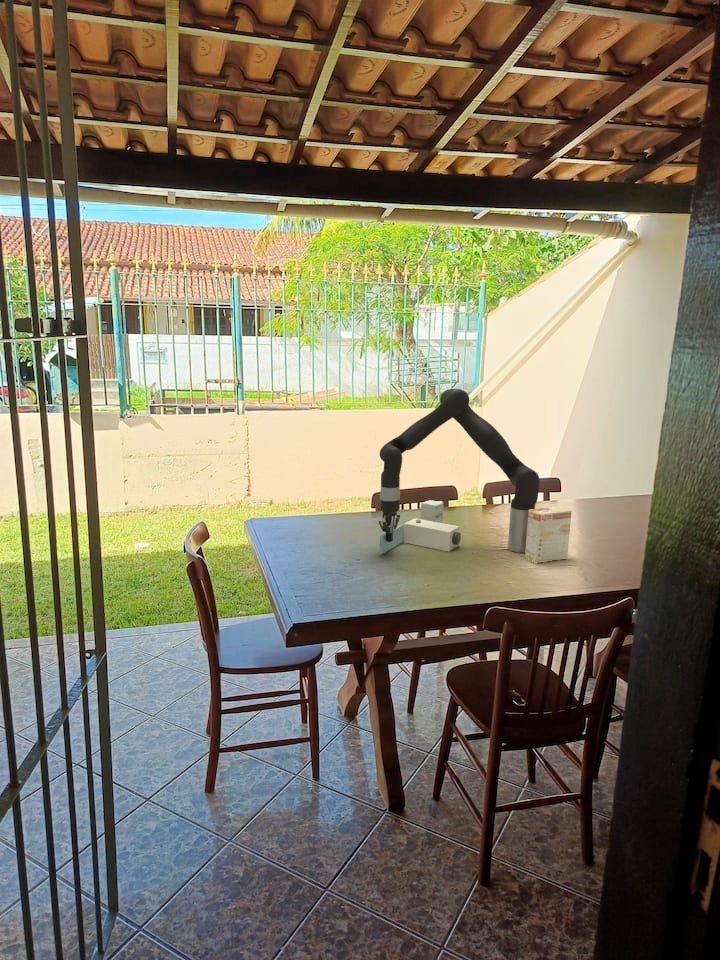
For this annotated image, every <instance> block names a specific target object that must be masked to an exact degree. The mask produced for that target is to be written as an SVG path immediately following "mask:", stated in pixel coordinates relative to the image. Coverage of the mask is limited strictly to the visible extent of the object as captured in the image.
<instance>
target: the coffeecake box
mask: <svg viewBox="0 0 720 960" xmlns="http://www.w3.org/2000/svg"><path fill="white" fill-rule="evenodd" d="M572 511H573V510H570V509H568V508H566V507H564V506H561V505H559V506H553V507H552V506H551V507H542V508H535V509H530V510H529V512H528V524H527V538H526V550H525V553H524V558H525V559H526V558H527V559H526V560H528V559H529V560H528V561H530V560H531V561H533V562H535V563H536V562H543V563H547V562H546V561H551V562H553V561H552V560H558V561H560V560H559V559H565V558H567V559H568V555H569V554H568V553H569V544H570V543H569V541H570V534H571V533H570V531H571V530H570V529H571V519H572ZM531 561H530V562H531ZM533 562H532V563H533ZM535 563H534V564H535ZM536 564H537V563H536Z"/></svg>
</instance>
